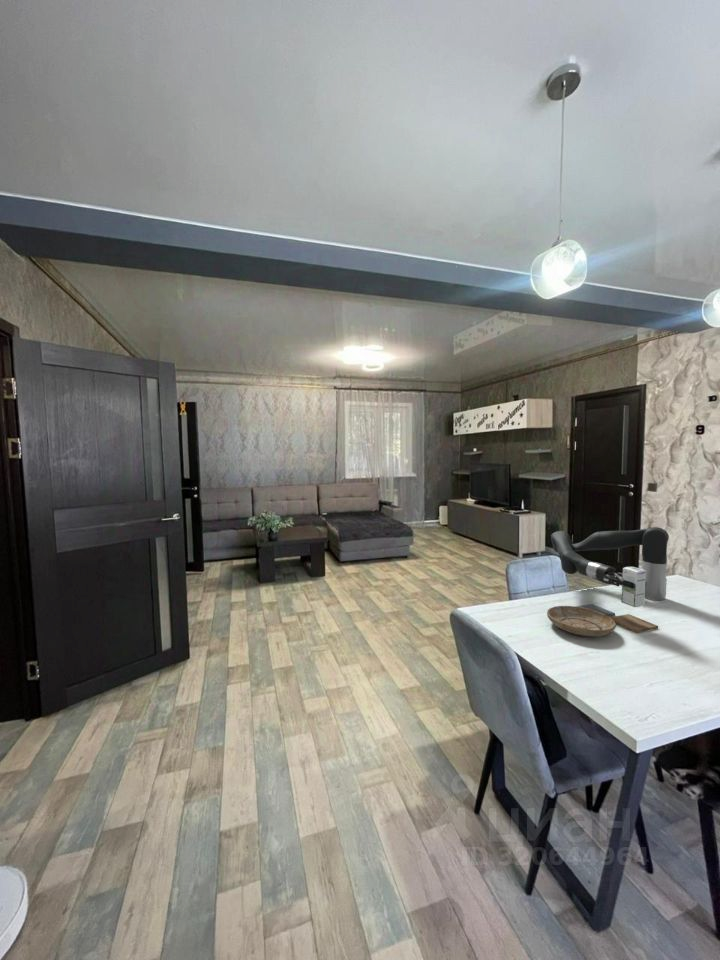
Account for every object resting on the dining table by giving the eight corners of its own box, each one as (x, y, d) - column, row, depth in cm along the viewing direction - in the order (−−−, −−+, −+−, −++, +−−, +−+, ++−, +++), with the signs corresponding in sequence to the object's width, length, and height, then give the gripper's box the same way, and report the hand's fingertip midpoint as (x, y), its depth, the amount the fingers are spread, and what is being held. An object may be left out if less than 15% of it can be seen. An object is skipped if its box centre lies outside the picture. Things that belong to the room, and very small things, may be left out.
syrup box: (644, 605, 155) (647, 569, 153) (634, 607, 152) (637, 571, 151) (630, 600, 160) (632, 565, 159) (620, 602, 158) (622, 567, 157)
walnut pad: (628, 616, 164) (628, 614, 164) (658, 628, 153) (658, 625, 153) (607, 620, 160) (607, 617, 160) (636, 633, 149) (636, 630, 149)
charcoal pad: (591, 605, 175) (591, 603, 175) (614, 615, 165) (615, 613, 165) (573, 608, 172) (573, 606, 172) (595, 619, 162) (595, 616, 161)
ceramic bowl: (627, 646, 139) (627, 632, 139) (555, 639, 144) (556, 626, 144) (601, 619, 162) (601, 607, 162) (540, 614, 167) (540, 602, 166)
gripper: (612, 579, 172) (652, 592, 156) (588, 582, 167) (626, 596, 151) (613, 562, 171) (653, 574, 155) (589, 565, 166) (627, 577, 150)
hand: (639, 585), depth 153 cm, fingers closed on syrup box, 6 cm apart
